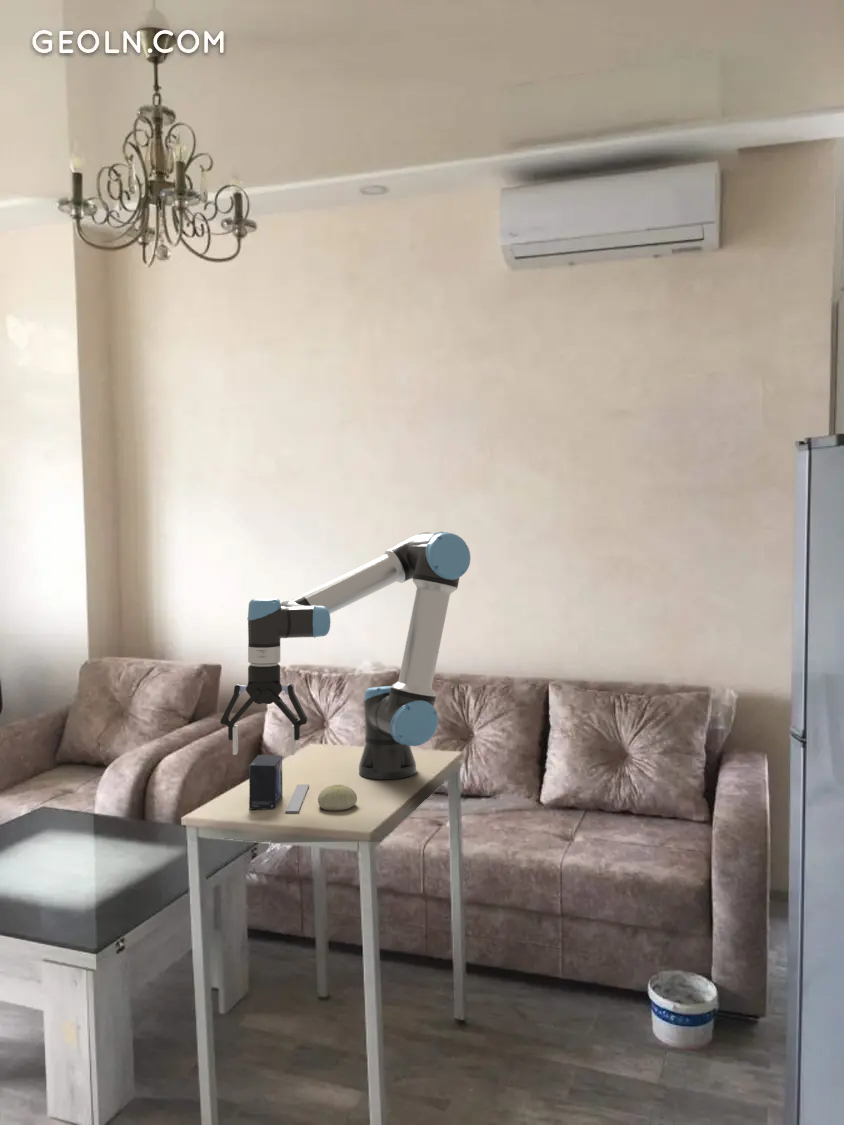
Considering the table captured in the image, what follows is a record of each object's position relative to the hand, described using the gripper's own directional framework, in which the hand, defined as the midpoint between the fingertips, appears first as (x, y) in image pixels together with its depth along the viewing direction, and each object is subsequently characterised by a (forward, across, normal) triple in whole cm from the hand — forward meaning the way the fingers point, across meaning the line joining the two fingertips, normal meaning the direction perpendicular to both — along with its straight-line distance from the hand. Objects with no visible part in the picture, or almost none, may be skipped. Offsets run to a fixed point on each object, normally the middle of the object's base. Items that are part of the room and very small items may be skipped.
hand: (264, 753), depth 226 cm
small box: (+12, 0, 0) cm, 12 cm away
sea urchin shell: (+12, +18, -3) cm, 21 cm away
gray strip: (+12, +8, +3) cm, 14 cm away
